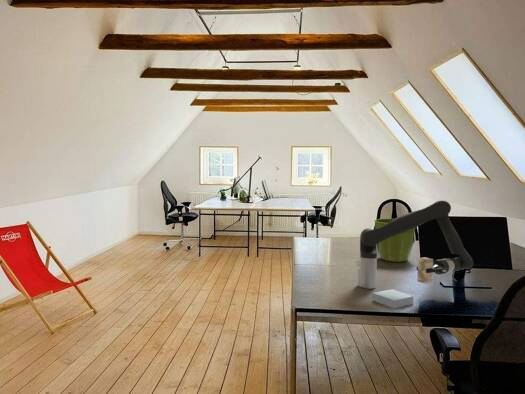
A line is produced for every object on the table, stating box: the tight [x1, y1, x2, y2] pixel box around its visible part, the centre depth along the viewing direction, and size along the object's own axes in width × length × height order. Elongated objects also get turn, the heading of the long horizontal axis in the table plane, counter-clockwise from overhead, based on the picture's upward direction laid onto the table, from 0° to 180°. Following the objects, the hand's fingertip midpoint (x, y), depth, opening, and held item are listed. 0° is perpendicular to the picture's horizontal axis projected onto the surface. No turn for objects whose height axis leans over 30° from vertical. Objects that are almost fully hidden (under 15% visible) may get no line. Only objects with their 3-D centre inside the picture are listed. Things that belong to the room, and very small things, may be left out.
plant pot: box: [374, 218, 416, 263], centre depth 322 cm, size 30×30×29 cm
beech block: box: [416, 256, 434, 285], centre depth 223 cm, size 5×5×12 cm
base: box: [372, 288, 414, 309], centre depth 223 cm, size 14×14×4 cm
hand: (421, 269), depth 221 cm, fingers closed on beech block, 5 cm apart
